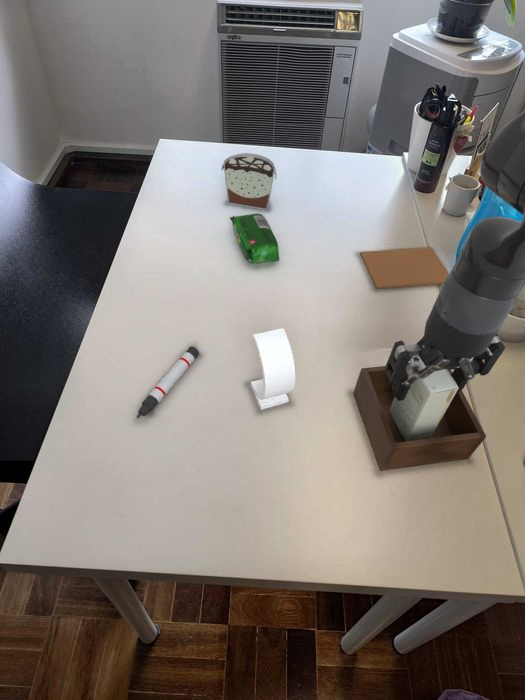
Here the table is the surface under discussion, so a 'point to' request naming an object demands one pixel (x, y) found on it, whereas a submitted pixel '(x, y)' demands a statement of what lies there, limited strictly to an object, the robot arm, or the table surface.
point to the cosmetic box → (423, 404)
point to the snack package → (255, 238)
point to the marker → (168, 381)
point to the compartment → (394, 452)
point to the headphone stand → (274, 368)
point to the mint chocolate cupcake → (249, 180)
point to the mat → (404, 267)
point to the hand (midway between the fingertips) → (425, 392)
